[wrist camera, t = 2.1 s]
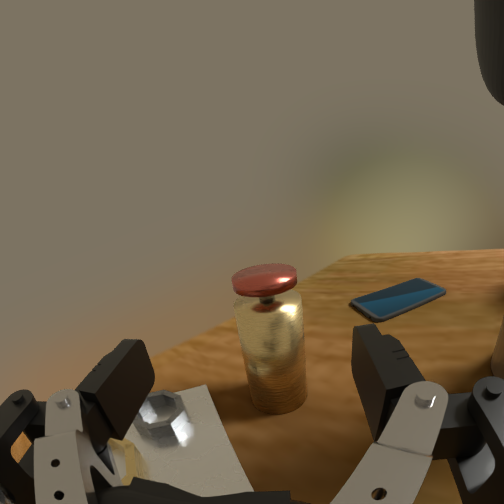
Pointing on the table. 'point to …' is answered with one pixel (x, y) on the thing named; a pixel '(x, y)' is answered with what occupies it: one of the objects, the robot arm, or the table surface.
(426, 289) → the smartphone
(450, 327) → the table surface
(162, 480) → the fitting plate
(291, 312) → the brass valve
